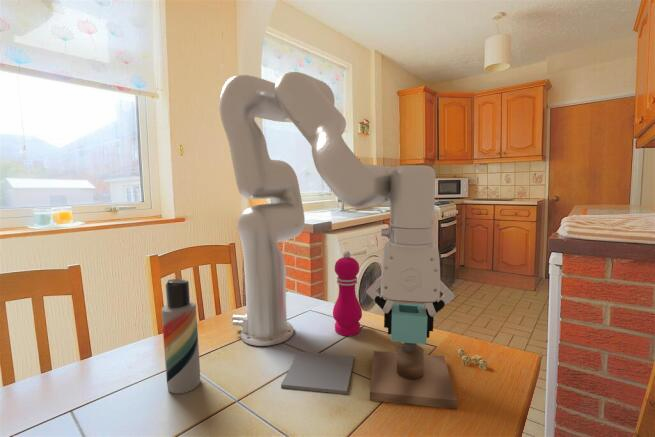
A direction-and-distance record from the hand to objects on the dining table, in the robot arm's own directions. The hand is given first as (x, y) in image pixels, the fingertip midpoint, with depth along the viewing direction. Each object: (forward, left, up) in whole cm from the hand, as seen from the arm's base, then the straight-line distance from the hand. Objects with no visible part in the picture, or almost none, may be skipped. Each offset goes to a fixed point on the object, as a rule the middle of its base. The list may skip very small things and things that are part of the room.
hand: (407, 331), depth 62 cm
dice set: (+13, +8, -10) cm, 18 cm away
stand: (0, 0, -9) cm, 9 cm away
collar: (0, 0, -1) cm, 1 cm away
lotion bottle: (-41, -8, -9) cm, 42 cm away
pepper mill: (-14, +19, -9) cm, 25 cm away
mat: (-17, 0, -9) cm, 19 cm away
